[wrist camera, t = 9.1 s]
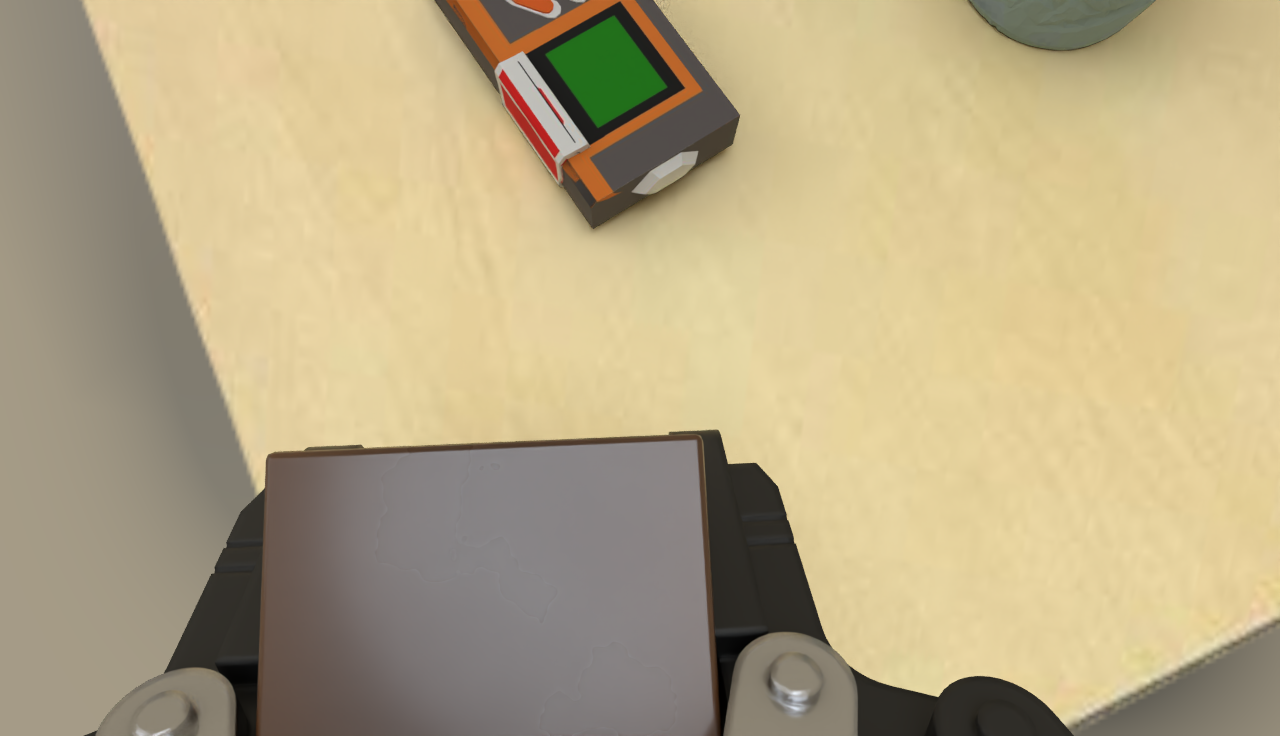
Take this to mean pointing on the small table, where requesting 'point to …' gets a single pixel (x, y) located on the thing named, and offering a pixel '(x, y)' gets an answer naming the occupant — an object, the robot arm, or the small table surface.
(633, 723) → the walnut block
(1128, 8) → the green cup
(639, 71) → the electronic device
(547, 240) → the small table surface
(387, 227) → the small table surface
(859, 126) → the small table surface
